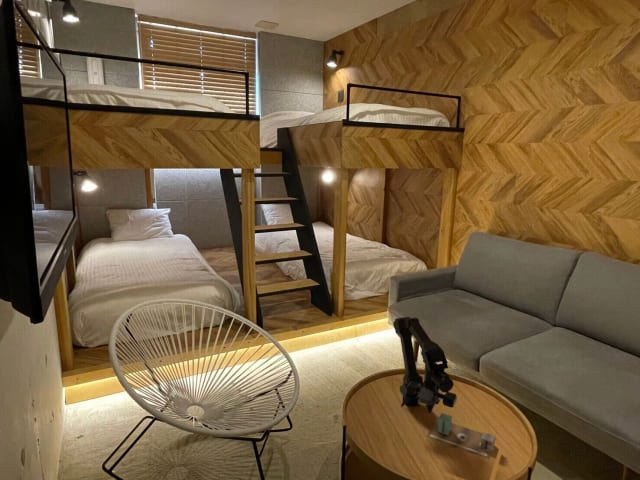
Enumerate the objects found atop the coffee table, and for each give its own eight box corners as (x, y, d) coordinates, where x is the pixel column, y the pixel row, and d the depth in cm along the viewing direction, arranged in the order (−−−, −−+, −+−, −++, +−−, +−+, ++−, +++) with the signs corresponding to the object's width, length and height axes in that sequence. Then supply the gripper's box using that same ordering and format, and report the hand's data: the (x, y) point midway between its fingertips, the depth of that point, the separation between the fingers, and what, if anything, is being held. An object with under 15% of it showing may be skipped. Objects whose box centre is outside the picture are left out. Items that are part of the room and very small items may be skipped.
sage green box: (437, 431, 169) (438, 418, 168) (440, 425, 173) (441, 412, 171) (448, 435, 167) (448, 422, 166) (451, 429, 171) (451, 416, 169)
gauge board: (426, 439, 168) (427, 428, 166) (436, 420, 178) (437, 409, 177) (490, 462, 156) (491, 450, 154) (497, 440, 166) (498, 429, 165)
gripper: (401, 380, 166) (400, 415, 170) (450, 395, 156) (447, 432, 160) (411, 367, 175) (410, 400, 179) (458, 380, 166) (455, 415, 169)
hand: (430, 412), depth 172 cm, fingers closed
